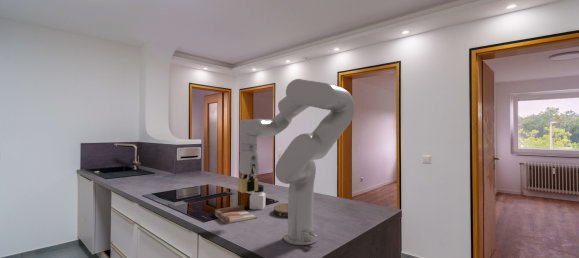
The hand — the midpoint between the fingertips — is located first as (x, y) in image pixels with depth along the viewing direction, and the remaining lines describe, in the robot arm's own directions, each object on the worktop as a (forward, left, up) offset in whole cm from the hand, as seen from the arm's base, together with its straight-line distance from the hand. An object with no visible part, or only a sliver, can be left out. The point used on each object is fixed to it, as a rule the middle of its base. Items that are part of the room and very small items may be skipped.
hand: (248, 189), depth 119 cm
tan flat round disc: (+5, -25, -16) cm, 30 cm away
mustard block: (0, 0, -1) cm, 1 cm away
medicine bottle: (+22, -16, -16) cm, 31 cm away
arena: (+14, 0, -15) cm, 21 cm away
